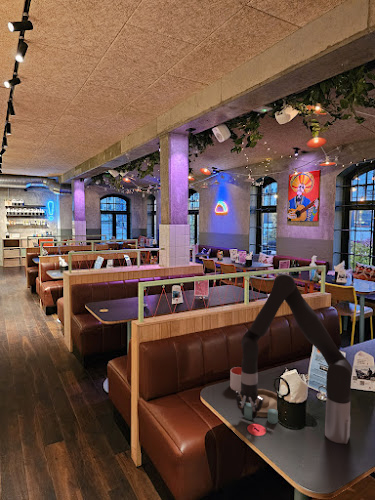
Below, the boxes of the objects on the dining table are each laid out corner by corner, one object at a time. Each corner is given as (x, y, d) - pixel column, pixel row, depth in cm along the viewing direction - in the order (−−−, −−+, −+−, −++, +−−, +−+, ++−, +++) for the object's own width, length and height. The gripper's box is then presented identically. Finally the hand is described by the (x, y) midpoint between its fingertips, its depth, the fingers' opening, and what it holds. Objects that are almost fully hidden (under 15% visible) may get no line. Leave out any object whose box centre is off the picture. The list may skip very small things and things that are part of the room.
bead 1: (255, 416, 159) (255, 404, 158) (251, 420, 155) (251, 409, 155) (246, 413, 161) (246, 401, 161) (242, 417, 157) (242, 406, 157)
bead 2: (278, 422, 157) (279, 410, 156) (275, 427, 153) (275, 415, 153) (269, 419, 159) (269, 407, 159) (265, 423, 156) (266, 412, 155)
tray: (291, 401, 174) (291, 396, 174) (275, 424, 155) (275, 418, 155) (249, 389, 187) (249, 383, 187) (229, 408, 168) (229, 402, 168)
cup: (226, 387, 188) (226, 370, 187) (239, 382, 194) (239, 365, 193) (239, 395, 180) (240, 377, 179) (252, 389, 186) (253, 371, 186)
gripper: (267, 381, 156) (266, 417, 157) (238, 373, 164) (238, 407, 165) (261, 387, 149) (260, 425, 151) (231, 379, 157) (231, 415, 159)
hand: (249, 416), depth 158 cm, fingers closed on bead 1, 4 cm apart
